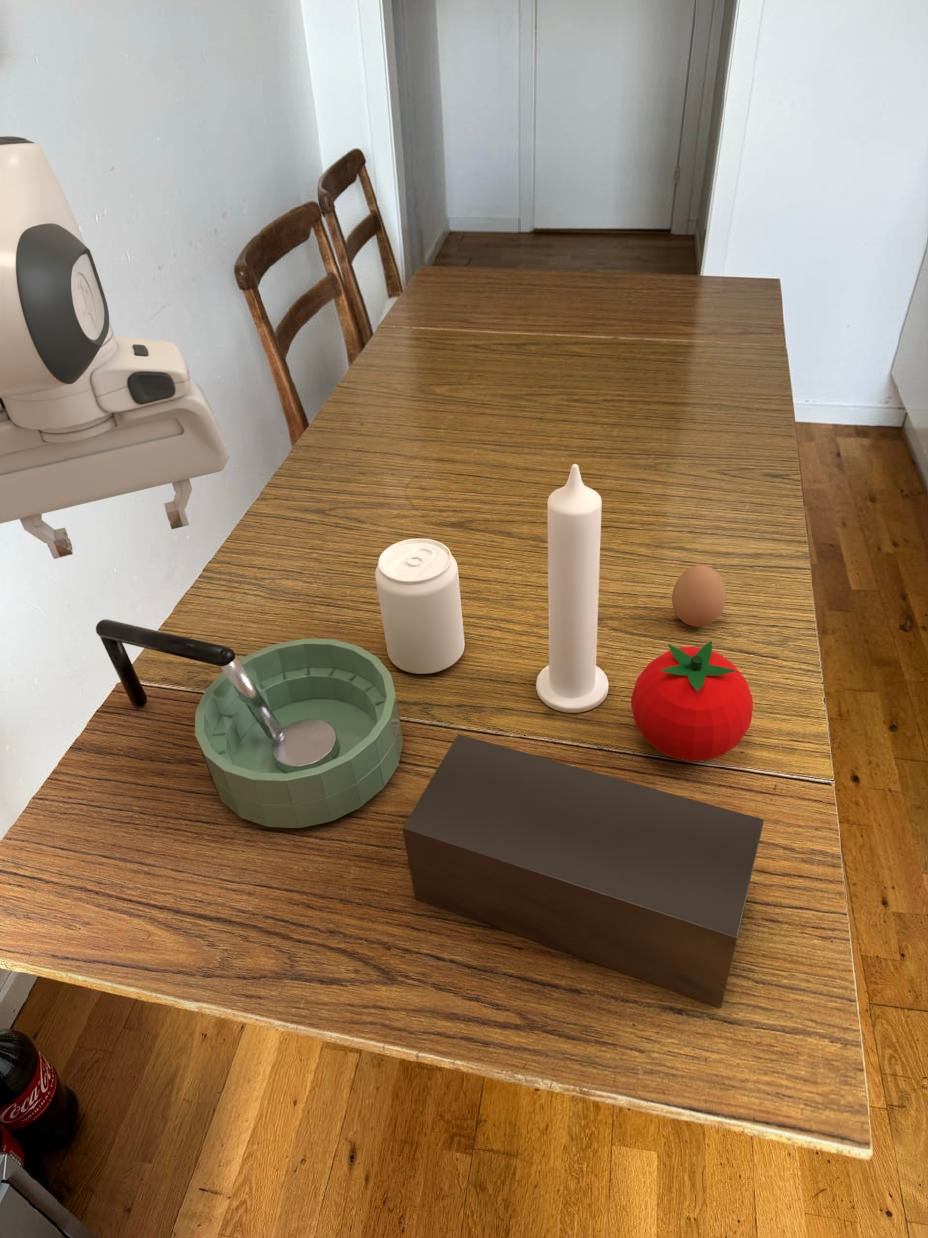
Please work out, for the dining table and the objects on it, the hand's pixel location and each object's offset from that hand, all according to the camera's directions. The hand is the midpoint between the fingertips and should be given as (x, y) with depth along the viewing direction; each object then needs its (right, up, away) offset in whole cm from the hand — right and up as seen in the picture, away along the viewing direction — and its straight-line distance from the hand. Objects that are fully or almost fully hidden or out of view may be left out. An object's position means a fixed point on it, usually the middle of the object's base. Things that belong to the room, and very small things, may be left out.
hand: (122, 538), depth 74 cm
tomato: (+49, -18, +8) cm, 53 cm away
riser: (+37, -28, -4) cm, 47 cm away
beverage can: (+24, -10, +20) cm, 33 cm away
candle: (+39, -14, +14) cm, 44 cm away
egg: (+53, -7, +20) cm, 57 cm away
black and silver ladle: (+6, -17, +12) cm, 22 cm away
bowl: (+14, -20, +9) cm, 26 cm away
